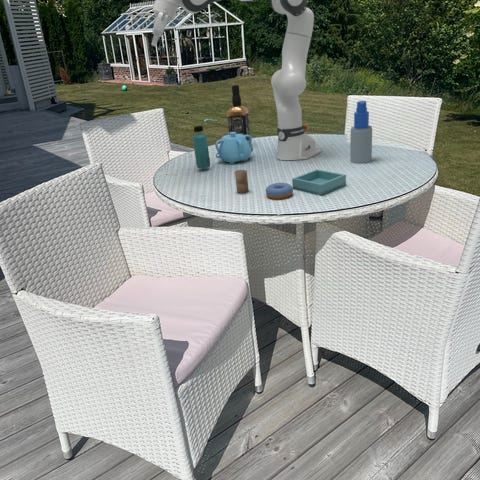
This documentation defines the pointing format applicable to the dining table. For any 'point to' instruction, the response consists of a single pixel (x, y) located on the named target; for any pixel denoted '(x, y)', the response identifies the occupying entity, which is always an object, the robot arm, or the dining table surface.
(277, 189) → the doughnut
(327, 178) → the box
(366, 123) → the spray bottle
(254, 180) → the dining table surface
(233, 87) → the whiskey bottle
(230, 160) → the decorative pot
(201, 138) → the beverage bottle
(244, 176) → the brown wooden cylinder
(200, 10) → the robot arm
